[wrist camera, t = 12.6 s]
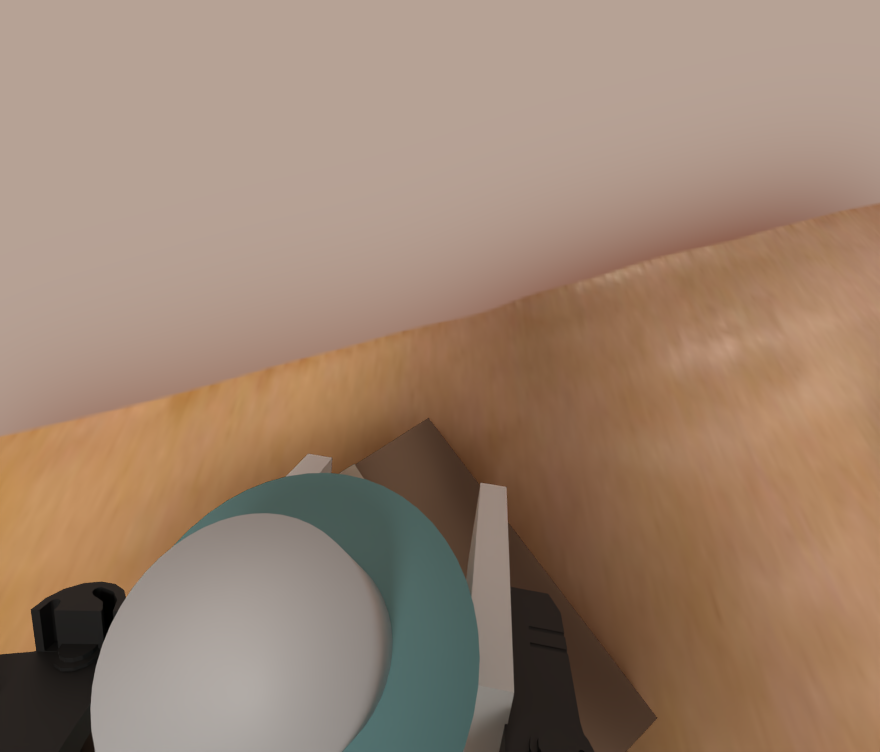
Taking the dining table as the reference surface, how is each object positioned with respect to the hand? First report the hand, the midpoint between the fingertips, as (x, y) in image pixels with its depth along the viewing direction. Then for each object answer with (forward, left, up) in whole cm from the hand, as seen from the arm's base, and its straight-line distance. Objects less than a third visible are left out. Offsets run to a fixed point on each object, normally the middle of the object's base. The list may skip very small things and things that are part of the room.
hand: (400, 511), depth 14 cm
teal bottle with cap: (+3, +3, -4) cm, 5 cm away
